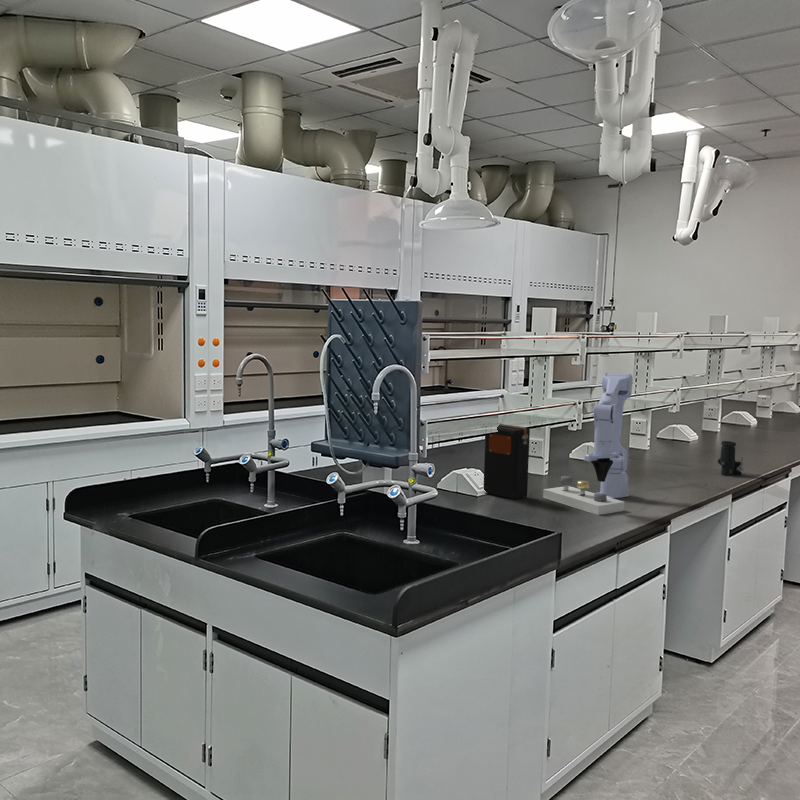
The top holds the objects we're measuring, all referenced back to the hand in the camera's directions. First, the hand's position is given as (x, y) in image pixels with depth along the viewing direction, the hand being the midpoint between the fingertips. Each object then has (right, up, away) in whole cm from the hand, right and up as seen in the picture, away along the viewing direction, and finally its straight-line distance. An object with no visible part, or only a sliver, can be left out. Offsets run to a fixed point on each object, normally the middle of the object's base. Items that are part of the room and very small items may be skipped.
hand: (601, 481), depth 244 cm
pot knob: (-4, -6, +8) cm, 11 cm away
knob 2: (0, -10, +1) cm, 10 cm away
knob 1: (-8, -5, +14) cm, 18 cm away
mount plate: (-4, -9, +8) cm, 12 cm away
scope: (+70, -5, +63) cm, 94 cm away
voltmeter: (-29, -7, +18) cm, 35 cm away
